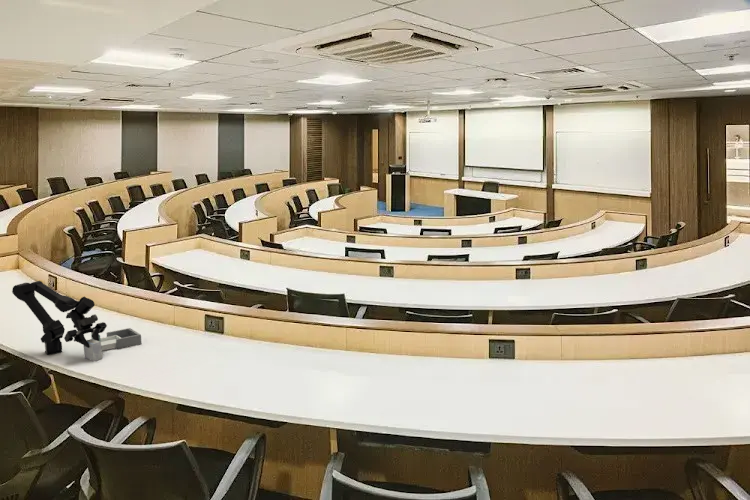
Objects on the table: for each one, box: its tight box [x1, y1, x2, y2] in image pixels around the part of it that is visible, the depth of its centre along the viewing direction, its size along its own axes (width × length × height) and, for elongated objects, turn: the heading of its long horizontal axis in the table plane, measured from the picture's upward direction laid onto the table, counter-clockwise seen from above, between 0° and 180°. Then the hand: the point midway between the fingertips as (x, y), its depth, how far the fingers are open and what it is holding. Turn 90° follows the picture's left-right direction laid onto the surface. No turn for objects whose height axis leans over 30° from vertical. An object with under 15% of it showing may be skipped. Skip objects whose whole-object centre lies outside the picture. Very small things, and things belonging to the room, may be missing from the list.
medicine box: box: [83, 339, 103, 362], centre depth 267 cm, size 8×4×9 cm, turn 58°
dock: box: [106, 327, 142, 350], centre depth 290 cm, size 12×16×5 cm
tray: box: [90, 332, 121, 352], centre depth 284 cm, size 13×13×8 cm
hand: (94, 345), depth 266 cm, fingers open, 5 cm apart
